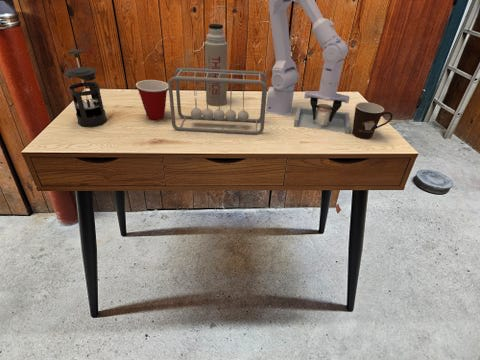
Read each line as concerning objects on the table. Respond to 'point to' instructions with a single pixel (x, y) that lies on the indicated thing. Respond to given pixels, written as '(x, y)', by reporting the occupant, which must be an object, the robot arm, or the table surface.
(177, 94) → the newton's cradle
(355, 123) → the coffee mug
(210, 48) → the thermos bottle
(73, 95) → the french press
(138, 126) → the table surface
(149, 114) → the plastic cup
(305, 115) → the caddy
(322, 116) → the cylinder with tab
